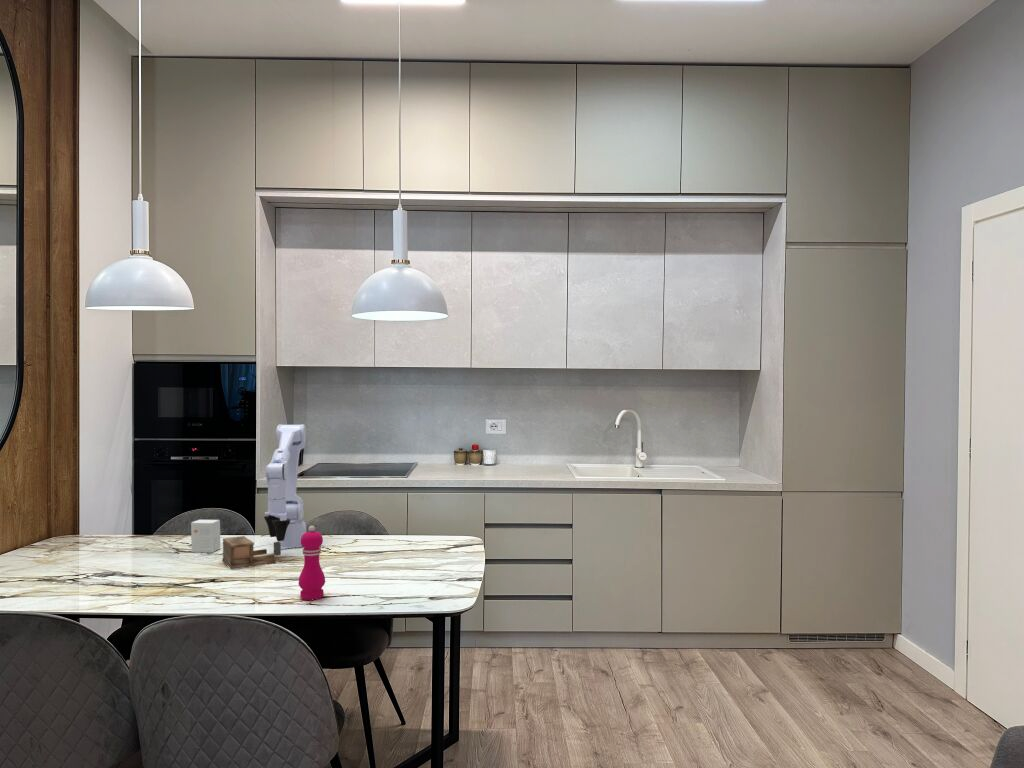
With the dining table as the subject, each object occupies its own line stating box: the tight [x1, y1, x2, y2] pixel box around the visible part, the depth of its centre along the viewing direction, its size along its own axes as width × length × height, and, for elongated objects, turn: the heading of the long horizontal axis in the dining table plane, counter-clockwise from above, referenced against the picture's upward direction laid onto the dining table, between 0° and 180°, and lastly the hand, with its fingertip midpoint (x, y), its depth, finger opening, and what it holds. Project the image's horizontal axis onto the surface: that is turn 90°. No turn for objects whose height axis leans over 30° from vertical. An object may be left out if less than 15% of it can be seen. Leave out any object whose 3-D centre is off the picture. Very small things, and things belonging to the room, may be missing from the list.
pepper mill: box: [298, 525, 326, 601], centre depth 209 cm, size 7×7×20 cm
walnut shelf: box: [222, 535, 277, 570], centre depth 248 cm, size 14×12×8 cm
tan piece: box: [234, 541, 282, 560], centre depth 249 cm, size 16×6×5 cm, turn 124°
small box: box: [190, 519, 221, 553], centre depth 264 cm, size 8×6×10 cm
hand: (277, 538), depth 253 cm, fingers open, 7 cm apart
